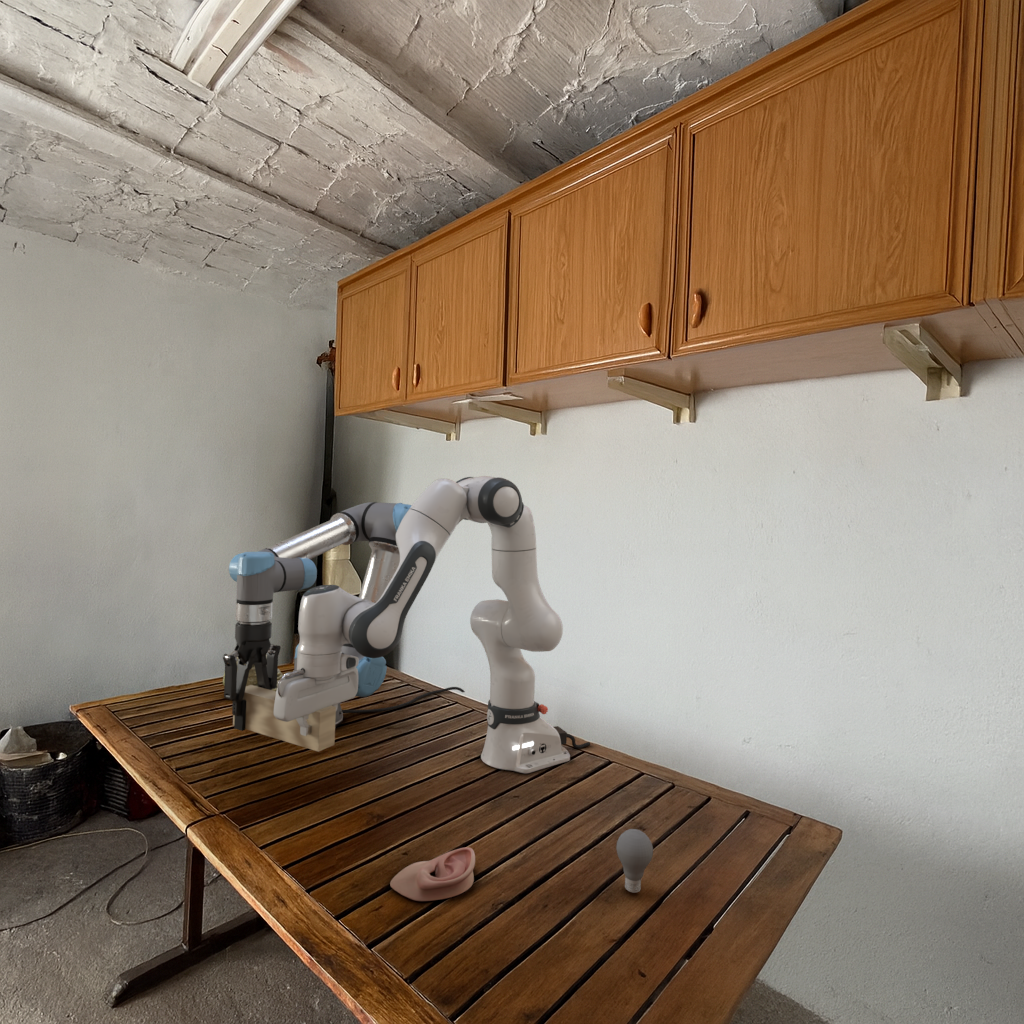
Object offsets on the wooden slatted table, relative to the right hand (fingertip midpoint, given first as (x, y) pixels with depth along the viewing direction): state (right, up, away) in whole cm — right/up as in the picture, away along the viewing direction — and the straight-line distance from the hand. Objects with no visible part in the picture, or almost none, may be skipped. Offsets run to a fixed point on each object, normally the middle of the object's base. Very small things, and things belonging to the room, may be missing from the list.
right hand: (316, 730), depth 132 cm
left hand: (-18, -2, +10) cm, 20 cm away
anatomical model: (+27, -17, -26) cm, 41 cm away
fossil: (-40, -12, +66) cm, 78 cm away
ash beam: (-9, -3, +5) cm, 11 cm away
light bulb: (+61, -18, -26) cm, 68 cm away
